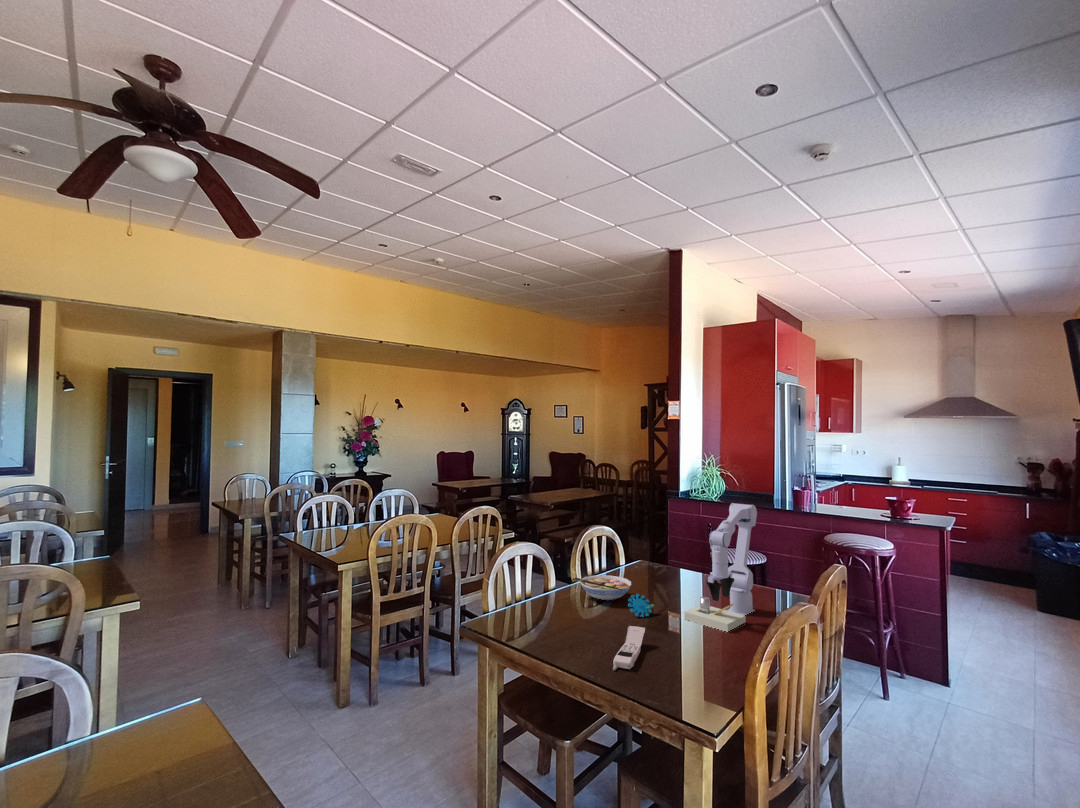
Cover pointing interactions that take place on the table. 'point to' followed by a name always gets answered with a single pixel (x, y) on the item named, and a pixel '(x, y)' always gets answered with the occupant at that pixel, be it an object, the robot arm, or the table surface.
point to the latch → (723, 609)
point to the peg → (705, 605)
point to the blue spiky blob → (640, 605)
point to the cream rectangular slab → (716, 618)
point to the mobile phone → (629, 648)
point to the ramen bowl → (605, 586)
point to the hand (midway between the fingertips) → (720, 598)
